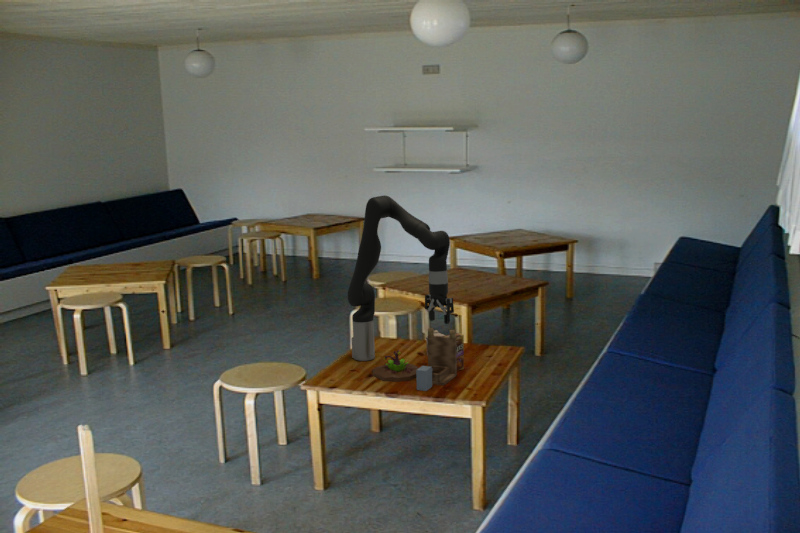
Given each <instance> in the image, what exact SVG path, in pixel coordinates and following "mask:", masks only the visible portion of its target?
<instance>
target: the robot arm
mask: <svg viewBox="0 0 800 533" xmlns="http://www.w3.org/2000/svg"><path fill="white" fill-rule="evenodd" d="M386 218H391V219H393V220H395V221H396V222H398V223H399V224H400V225H401V228H402V229H403V231H405V232H406V233H407V234H408V235H410V236H412V237H413V238H415V239H417V240H418V241H419V243H421V245H422V246H424V247H425V249H428V250H431V251H433V254H432V255H431V256H429V258H428V294H425V295H424V309H425V310H427V312H428V319H429V321H430V322H431V321H435V319H436V316H435V314H436V313H435V310H436V308H440V310H441V311H442V313H443V314H444V315H443V319H444V320H443V323H444V325H448V324H450V322H451V314H454V313H455V307H454V298H453V297H450V298H449V297H448V296H447V295H448V293H449V280H448V278H449V277H448V275H449V274H448V264H447V263H448V262H447V259H448V255H449V251H450V250H449V249H450V245H451V243H450V242H451V240H450V237H449V236H450V235H449V234H448V232H446V231H445V230H437V231H431V227H430V225H429V224H428V223H426V222H424V221H422V220H421V219H419V218H417V217H416V216H414V215H413V214H411V213H410V212H408V211H407V210H406V209H405V208H404V207H403V206H401V205H400V204H399V203H398V202H397V201H396V200H394V199H393V198H392V197H390V196H389V195H378V196H372V197H371V198H369V199H368V201H367V202H366V204H365V211H364V220H363V228H362V234H361V239H360V243H359V248H358V252H357V258H356V262H355V267H354V271H353V274H352V277H351V280H350V283H349V286H348V290H347V301H348V303H349V305H350V306H351V307H359V309H357V311H355V312H354V313H352V337H351V356H352V357H351V359H352V358H354V359H353V360H356V361H360V362H361V361H365V362H367V361H372V360H374V359H375V358H376V356H375V355H376V352H375V350H376V348H375V326H374V325H375V324H374V323H375V322H374V316H375V312H376V310H375V308H376V307H375V306H376V295H375V290H374V287H373V285H372V284H370V283H365V282H366V280H367V279H368V277H369V275H370V274H371V273H372V272H373V270H375V268H376V267H377V265H378V262H379V260H380V257H381V256H380V255H381V252H382V244H381V239H380V236H379V234H378V229H379V224H380V221H381V219H386Z"/></svg>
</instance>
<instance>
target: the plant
mask: <svg viewBox="0 0 800 533" xmlns="http://www.w3.org/2000/svg"><path fill="white" fill-rule="evenodd" d="M401 354H402V352H401V351H400V350H396V351H395V350H394V351H393V355H394V357H395V358H394V357H393V356H392V355H384V357H383V360H384V361H386V360H387V358H390V359H388V360H387V363H385V364H382V365H379V366H376V367H373V368H371V373H372V376H373V377H374V378H377V379H378V380H381V381H382V382H395V383H396V382H399V383H400V382H408V381H412V380H415V379H416V380H417V377H416V370H417V369H418V368H419V367H418V366H416V365H415V364H412V363H409V362H410V361H407V362H406V360H405V358H401V359H399V356H400V355H401Z"/></svg>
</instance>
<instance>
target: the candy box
mask: <svg viewBox="0 0 800 533" xmlns="http://www.w3.org/2000/svg"><path fill="white" fill-rule="evenodd" d="M455 334H456V357H457V372H458V371H461V370H465V369H464V368H465V364H464V360H465V359H464V358H465V356H464V354H465V353H464V352H465V351H464V348H465V346H464V344H465V343H464V340H465V338H464V334H463V333H459V332H457V333H456V332H455ZM445 337H450V334H446V335H445Z"/></svg>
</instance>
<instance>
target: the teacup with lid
mask: <svg viewBox="0 0 800 533" xmlns="http://www.w3.org/2000/svg"><path fill="white" fill-rule="evenodd" d="M427 336H428V334H427V335H426V336H425V339H426V342H425V343H426V355H427V356H428V338H427ZM434 336H446V335H445V334H443V333H440V332H439V330H437V329H436V330H434Z"/></svg>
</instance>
